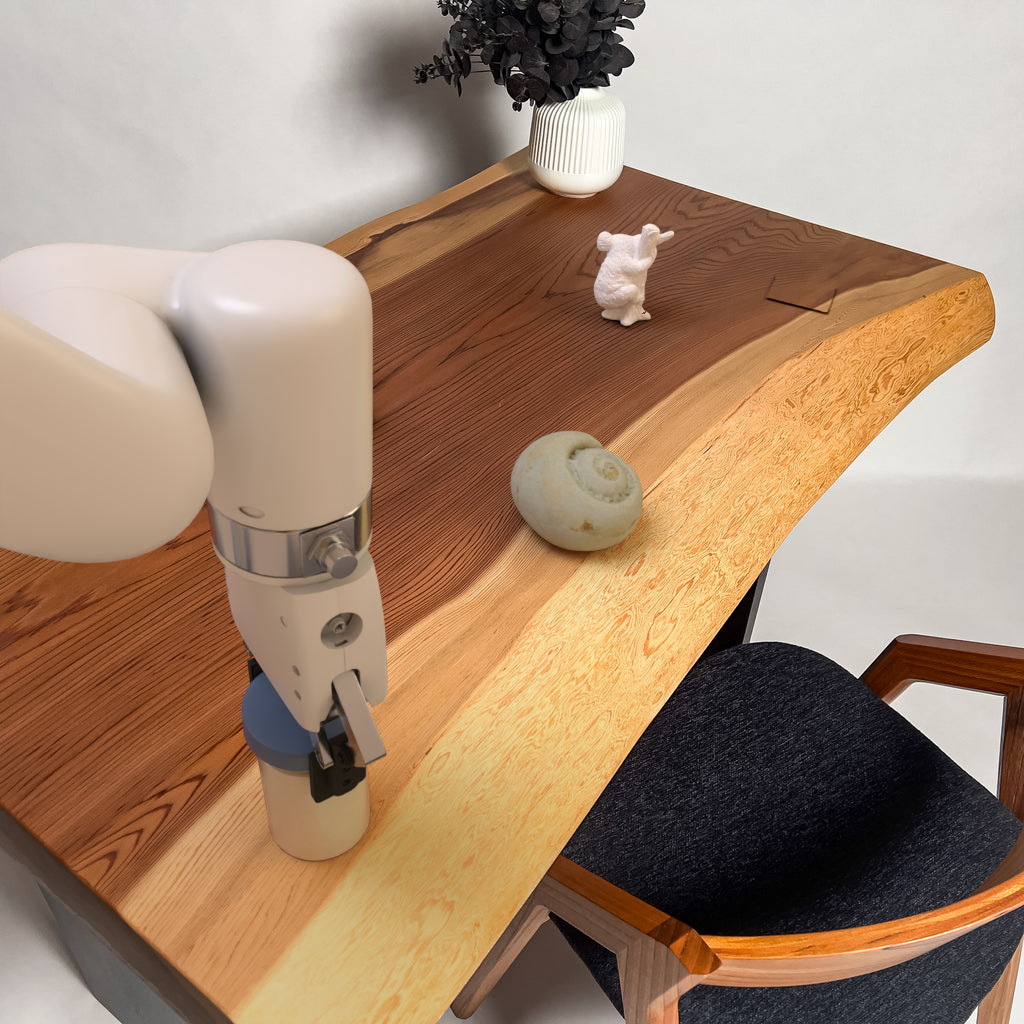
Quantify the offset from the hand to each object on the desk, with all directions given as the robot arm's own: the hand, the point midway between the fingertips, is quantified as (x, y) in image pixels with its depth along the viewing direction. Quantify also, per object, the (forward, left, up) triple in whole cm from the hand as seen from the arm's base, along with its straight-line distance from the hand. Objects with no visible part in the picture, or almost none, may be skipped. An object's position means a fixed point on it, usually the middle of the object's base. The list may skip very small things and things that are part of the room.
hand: (307, 739), depth 56 cm
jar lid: (0, 0, +3) cm, 3 cm away
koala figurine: (+61, +41, -8) cm, 74 cm away
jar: (0, 0, -8) cm, 8 cm away
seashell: (+32, +15, -8) cm, 37 cm away
